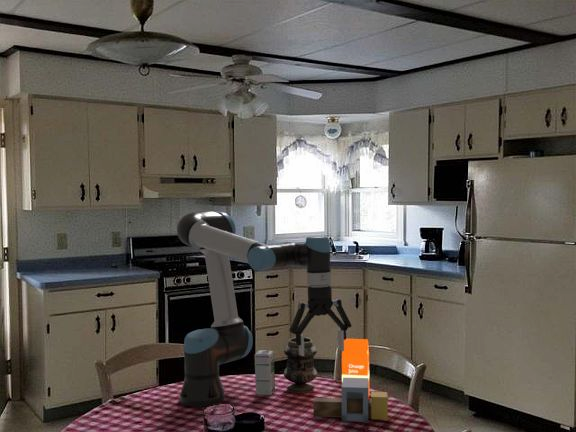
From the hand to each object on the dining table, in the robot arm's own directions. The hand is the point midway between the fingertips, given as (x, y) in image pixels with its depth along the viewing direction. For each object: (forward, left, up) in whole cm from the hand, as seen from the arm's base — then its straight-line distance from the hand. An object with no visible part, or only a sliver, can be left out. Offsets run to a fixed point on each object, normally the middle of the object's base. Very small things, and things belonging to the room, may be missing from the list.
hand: (321, 352), depth 195 cm
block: (+18, +1, -20) cm, 27 cm away
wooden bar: (+6, +1, -20) cm, 21 cm away
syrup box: (-22, +20, -20) cm, 36 cm away
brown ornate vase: (-10, +25, -20) cm, 34 cm away
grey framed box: (+10, +1, -20) cm, 22 cm away
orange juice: (+10, +19, -20) cm, 29 cm away
